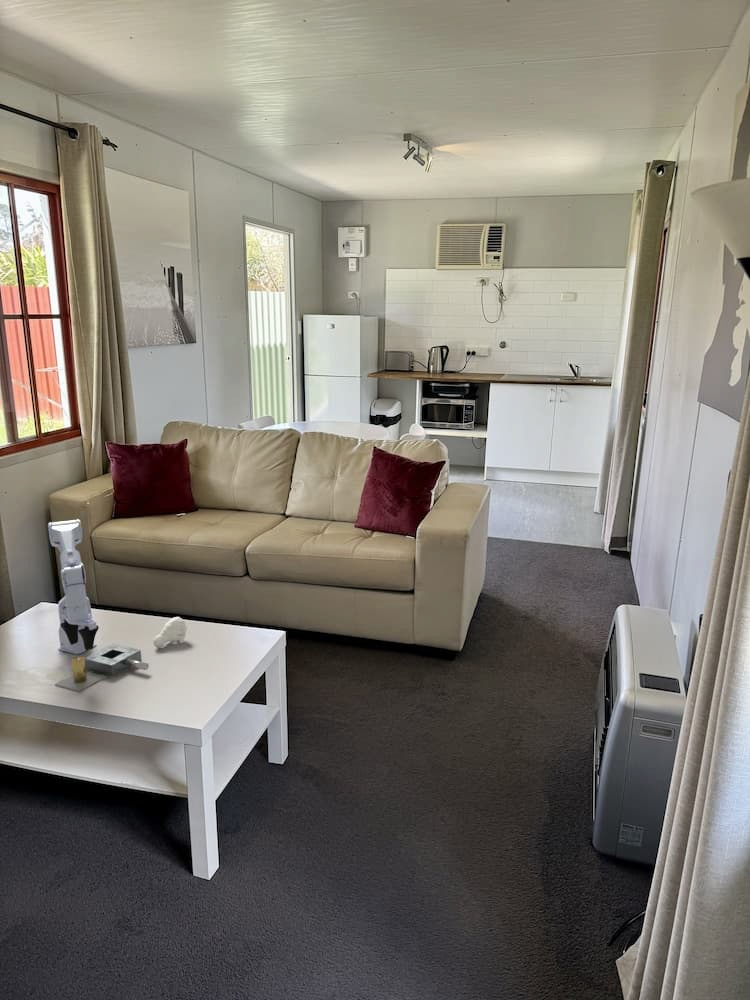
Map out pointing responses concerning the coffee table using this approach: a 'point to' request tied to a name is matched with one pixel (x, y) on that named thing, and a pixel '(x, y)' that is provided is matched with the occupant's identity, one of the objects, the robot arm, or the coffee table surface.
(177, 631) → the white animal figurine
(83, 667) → the gold metal cylinder
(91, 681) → the rubber mat
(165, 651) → the coffee table surface
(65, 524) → the robot arm
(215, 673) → the coffee table surface
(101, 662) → the chuck block
